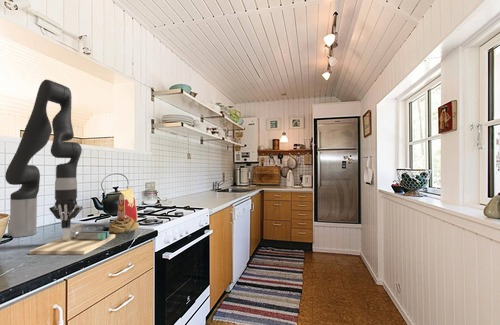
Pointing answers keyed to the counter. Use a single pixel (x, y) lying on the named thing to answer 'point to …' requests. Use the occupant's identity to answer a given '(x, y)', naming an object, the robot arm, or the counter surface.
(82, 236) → the tong arm
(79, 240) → the board
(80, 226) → the grey l-shaped block
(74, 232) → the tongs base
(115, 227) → the pastry
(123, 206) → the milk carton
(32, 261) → the counter surface
